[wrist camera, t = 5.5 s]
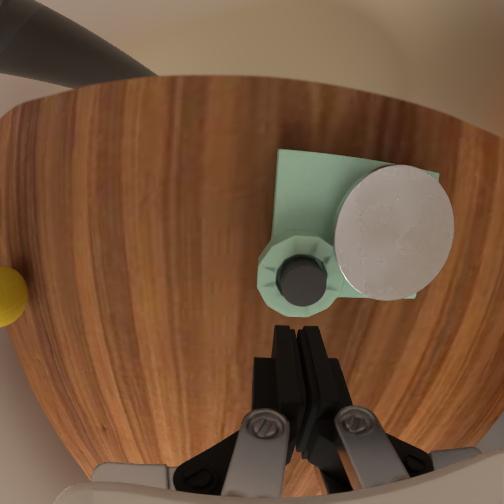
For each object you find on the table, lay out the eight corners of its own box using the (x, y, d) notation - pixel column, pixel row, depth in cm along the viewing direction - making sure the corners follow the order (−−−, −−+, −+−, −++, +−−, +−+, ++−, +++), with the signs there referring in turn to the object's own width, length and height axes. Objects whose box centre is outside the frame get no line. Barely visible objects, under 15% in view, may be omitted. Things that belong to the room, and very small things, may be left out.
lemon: (47, 304, 24) (1, 345, 17) (17, 302, 25) (-25, 336, 17) (32, 255, 23) (-21, 287, 15) (4, 257, 23) (-45, 285, 15)
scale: (255, 292, 23) (254, 315, 19) (265, 148, 19) (265, 146, 16) (403, 297, 23) (420, 317, 19) (426, 171, 19) (451, 175, 16)
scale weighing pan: (305, 207, 17) (307, 209, 16) (420, 141, 15) (427, 141, 15) (363, 317, 19) (366, 323, 19) (460, 255, 18) (466, 258, 17)
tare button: (277, 294, 19) (279, 306, 18) (281, 255, 18) (283, 263, 17) (318, 296, 19) (323, 307, 18) (324, 257, 18) (329, 266, 17)
